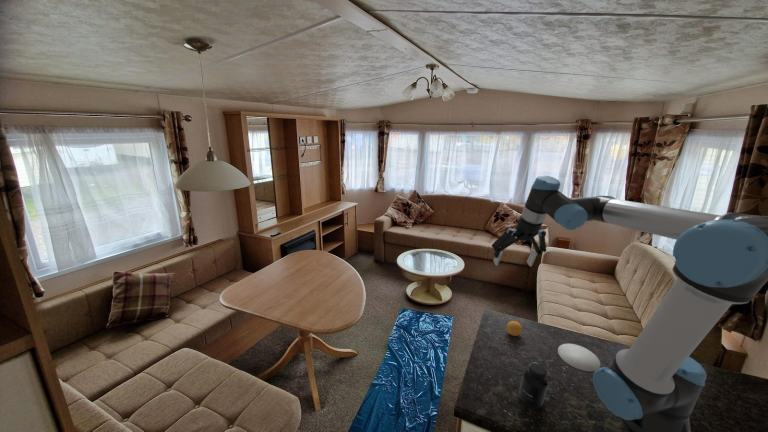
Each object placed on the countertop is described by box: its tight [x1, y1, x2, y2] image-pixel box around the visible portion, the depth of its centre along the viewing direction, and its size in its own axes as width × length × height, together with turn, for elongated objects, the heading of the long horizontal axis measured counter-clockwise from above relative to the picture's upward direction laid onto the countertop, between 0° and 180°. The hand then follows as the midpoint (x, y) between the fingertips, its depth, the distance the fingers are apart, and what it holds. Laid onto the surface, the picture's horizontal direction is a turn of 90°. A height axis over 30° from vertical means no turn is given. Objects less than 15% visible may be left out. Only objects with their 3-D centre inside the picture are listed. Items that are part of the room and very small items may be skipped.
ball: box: [506, 320, 523, 337], centre depth 121 cm, size 6×6×6 cm
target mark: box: [557, 343, 601, 372], centre depth 111 cm, size 13×13×1 cm
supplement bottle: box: [518, 361, 549, 409], centre depth 92 cm, size 7×7×12 cm
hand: (512, 263), depth 120 cm, fingers open, 13 cm apart
